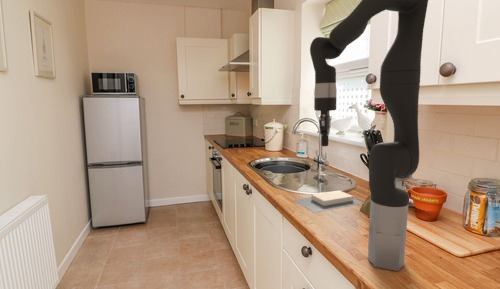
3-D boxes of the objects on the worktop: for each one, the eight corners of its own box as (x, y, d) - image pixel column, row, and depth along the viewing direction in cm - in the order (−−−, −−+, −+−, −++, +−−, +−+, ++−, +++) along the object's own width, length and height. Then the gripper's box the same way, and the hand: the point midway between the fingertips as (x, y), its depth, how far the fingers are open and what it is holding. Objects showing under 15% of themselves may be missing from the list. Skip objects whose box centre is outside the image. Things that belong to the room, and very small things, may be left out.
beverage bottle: (397, 197, 137) (400, 154, 134) (415, 202, 129) (418, 157, 126) (385, 200, 132) (388, 156, 130) (403, 205, 125) (406, 159, 122)
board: (313, 215, 116) (313, 212, 116) (292, 202, 130) (292, 200, 130) (365, 205, 126) (365, 203, 126) (340, 195, 140) (340, 192, 140)
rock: (397, 217, 107) (386, 204, 117) (385, 200, 106) (375, 188, 115) (371, 233, 109) (362, 219, 119) (359, 216, 108) (351, 203, 117)
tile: (324, 200, 121) (353, 196, 127) (311, 194, 130) (339, 190, 135) (324, 206, 122) (353, 201, 127) (311, 200, 130) (339, 195, 136)
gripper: (334, 95, 96) (334, 148, 98) (337, 97, 109) (337, 144, 111) (311, 96, 99) (311, 148, 101) (317, 97, 111) (317, 143, 113)
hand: (325, 145), depth 106 cm, fingers closed
